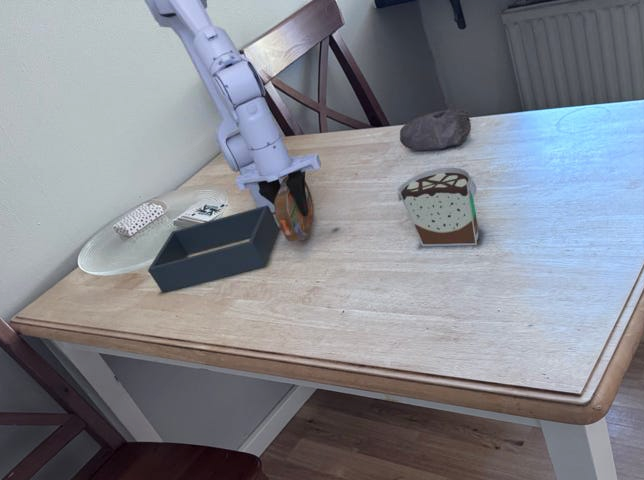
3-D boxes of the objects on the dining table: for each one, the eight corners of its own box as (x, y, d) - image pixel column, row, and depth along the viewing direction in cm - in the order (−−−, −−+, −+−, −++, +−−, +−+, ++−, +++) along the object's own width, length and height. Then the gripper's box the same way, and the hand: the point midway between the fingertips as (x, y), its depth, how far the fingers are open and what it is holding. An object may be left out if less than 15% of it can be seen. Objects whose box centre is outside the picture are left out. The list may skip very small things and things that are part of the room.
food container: (499, 222, 98) (485, 162, 92) (486, 244, 94) (470, 183, 88) (429, 224, 104) (411, 168, 98) (413, 246, 100) (394, 189, 94)
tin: (304, 248, 107) (287, 203, 102) (286, 252, 108) (268, 207, 102) (317, 207, 118) (302, 164, 113) (301, 210, 119) (285, 167, 114)
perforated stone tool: (399, 157, 129) (388, 124, 125) (409, 145, 133) (399, 113, 128) (467, 150, 122) (458, 114, 118) (476, 137, 125) (468, 102, 121)
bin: (185, 253, 125) (172, 231, 122) (279, 228, 121) (268, 204, 117) (162, 292, 114) (147, 270, 111) (264, 266, 110) (251, 242, 107)
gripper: (217, 164, 101) (255, 237, 110) (301, 139, 98) (333, 216, 107) (228, 146, 107) (263, 217, 115) (308, 122, 104) (338, 196, 112)
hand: (298, 215), depth 111 cm, fingers closed on tin, 2 cm apart
